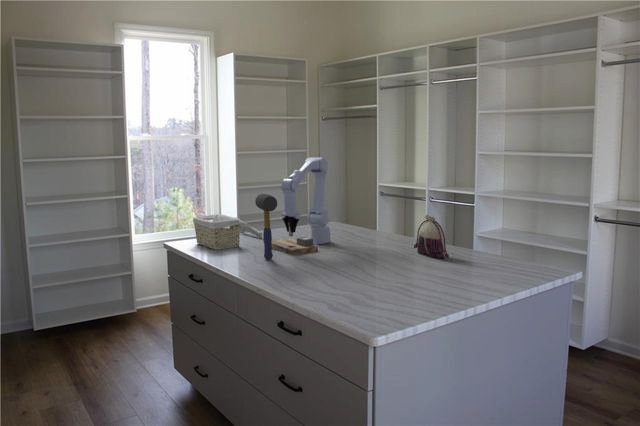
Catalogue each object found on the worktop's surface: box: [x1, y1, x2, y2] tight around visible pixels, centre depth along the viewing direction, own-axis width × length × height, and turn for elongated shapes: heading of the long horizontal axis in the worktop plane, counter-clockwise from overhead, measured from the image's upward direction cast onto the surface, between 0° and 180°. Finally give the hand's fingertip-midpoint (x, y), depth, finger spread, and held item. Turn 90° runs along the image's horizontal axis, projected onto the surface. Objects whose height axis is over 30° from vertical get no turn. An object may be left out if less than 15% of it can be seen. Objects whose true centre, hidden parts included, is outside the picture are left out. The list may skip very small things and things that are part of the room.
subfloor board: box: [271, 237, 319, 256], centre depth 274 cm, size 15×26×2 cm, turn 35°
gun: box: [235, 216, 263, 239], centre depth 313 cm, size 2×30×8 cm, turn 35°
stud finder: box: [296, 236, 314, 246], centre depth 271 cm, size 5×7×3 cm
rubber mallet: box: [254, 193, 278, 261], centre depth 250 cm, size 12×8×30 cm, turn 24°
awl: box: [288, 222, 294, 237], centre depth 265 cm, size 3×3×7 cm
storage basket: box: [192, 213, 241, 251], centre depth 286 cm, size 24×16×15 cm
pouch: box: [413, 214, 450, 260], centre depth 250 cm, size 25×8×19 cm, turn 33°
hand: (291, 232), depth 266 cm, fingers closed on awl, 3 cm apart
